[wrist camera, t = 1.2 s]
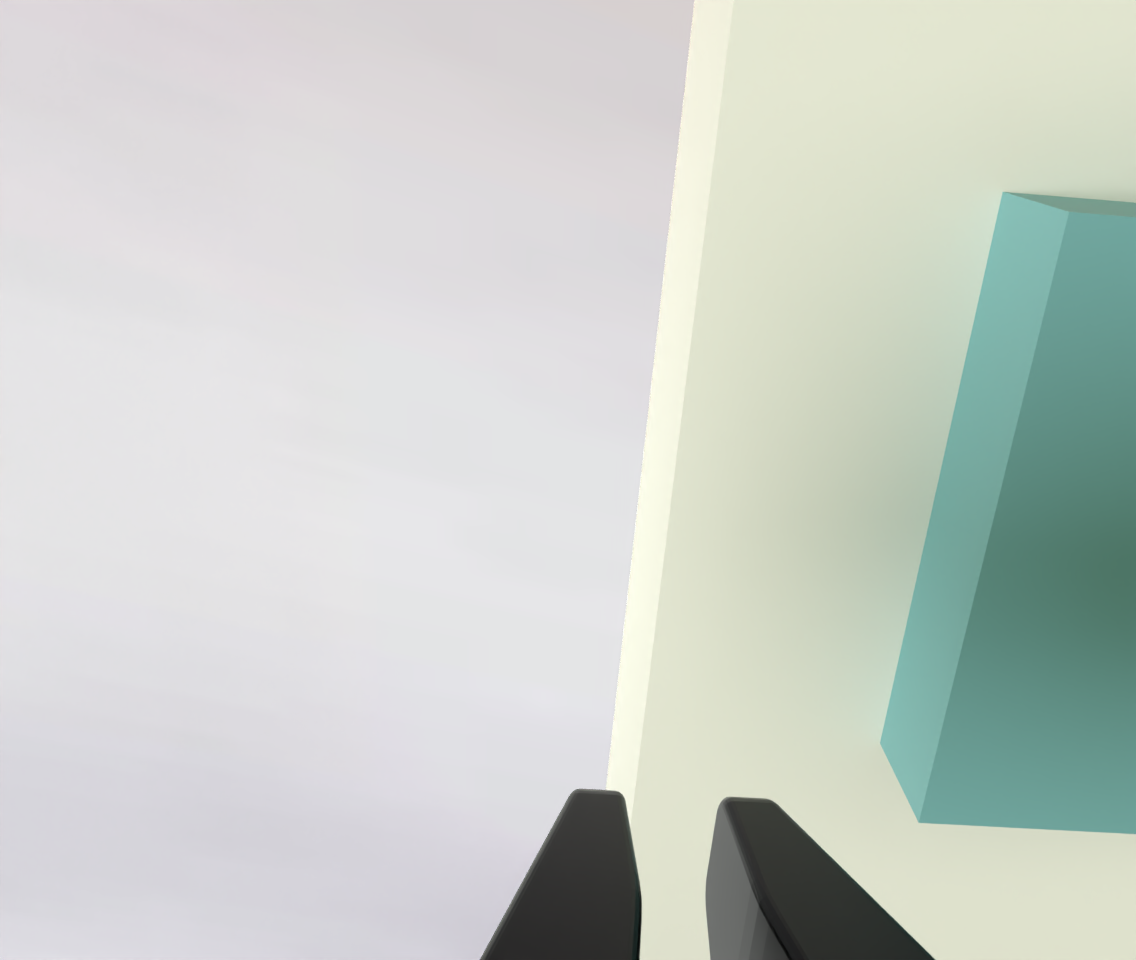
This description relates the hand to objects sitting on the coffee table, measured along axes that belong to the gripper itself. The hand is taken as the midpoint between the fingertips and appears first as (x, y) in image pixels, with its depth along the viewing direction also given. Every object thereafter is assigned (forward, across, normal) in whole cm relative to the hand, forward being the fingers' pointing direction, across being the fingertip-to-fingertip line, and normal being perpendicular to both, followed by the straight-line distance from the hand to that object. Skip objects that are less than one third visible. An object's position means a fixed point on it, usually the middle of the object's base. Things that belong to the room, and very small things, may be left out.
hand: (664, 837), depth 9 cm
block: (+8, -8, 0) cm, 11 cm away
